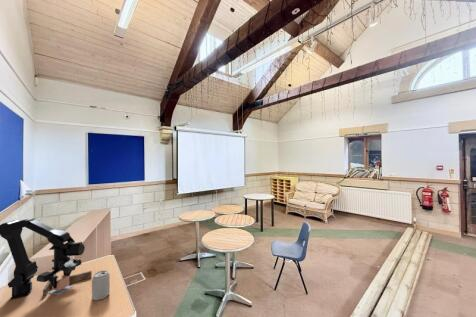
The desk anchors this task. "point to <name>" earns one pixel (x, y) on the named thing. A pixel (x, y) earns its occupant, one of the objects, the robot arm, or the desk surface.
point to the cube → (61, 282)
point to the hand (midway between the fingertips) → (60, 285)
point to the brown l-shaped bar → (71, 279)
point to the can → (100, 285)
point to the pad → (60, 290)
